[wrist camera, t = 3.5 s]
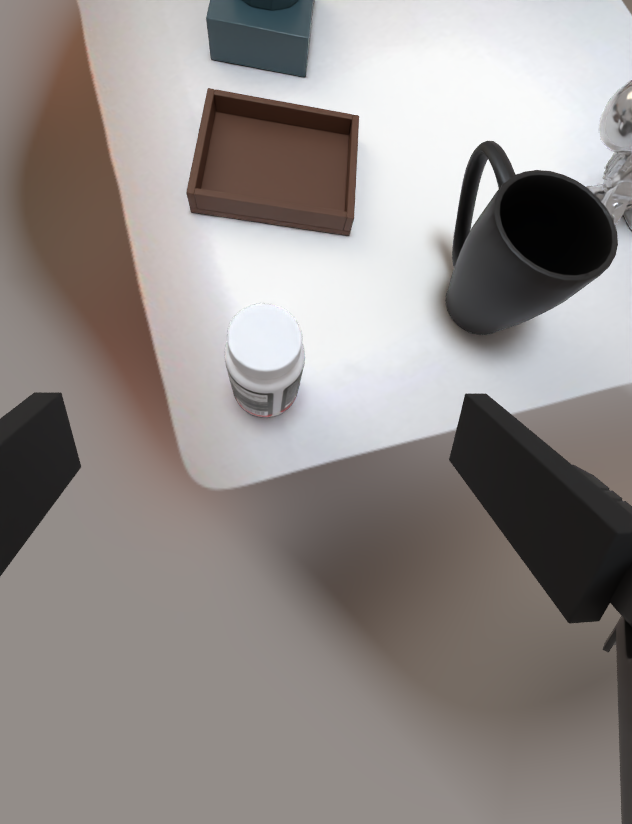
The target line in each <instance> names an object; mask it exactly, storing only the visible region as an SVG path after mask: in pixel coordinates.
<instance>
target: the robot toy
mask: <svg viewBox="0 0 632 824" xmlns="http://www.w3.org/2000/svg"><path fill="white" fill-rule="evenodd" d="M599 134H600V138H601V141H602V143H603V144H604V145H605V146H606V147H607V148H608V149H609V150H611V151H614V152H615V153H614V154H613V156H612V157H611V159H610V160H609V161H608V164H607V165H606V166H605V169H606V170H605V172H604V174H605V175H604V177H603V179H604V183H603V184H601V185H596V186H587V188H588V189H589V190H590V191H591V192H592V193H594V194H595V195H596V196H597V197H598V198H599V199H600V200H601V202H602V203H603V204H604V206H605V207H606V208H607V210H608V211H609V213H610V215H611V217H612V219H613V221H614V224H615V225H616V224H617V223H618V222H619V220H620V219H621V217H622V215H623V216H624V218H625V220H626V222H627V224H628V225H629V227H630V229H631V230H632V80H631V81H629V82H627V83H626V84H625V85H624V86H622V87H621V88H620V89H619V90H618V91H617V92H616V93H615V94H614V95H613V96H612V97H611V98H610V100H609V101H608V103H607V105H606V106H605V108H604V110H603V112H602V115H601V118H600V123H599ZM627 205H630V206H627Z"/></svg>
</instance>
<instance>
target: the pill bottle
mask: <svg viewBox="0 0 632 824" xmlns="http://www.w3.org/2000/svg"><path fill="white" fill-rule="evenodd" d="M304 361H305V352H304V346H303V343H302V332H301V328H300V326H299V324H298V322H297V320H296V319H295V318H294V317H293V316H292V315H291V314H290V313H289V312H288V311H286V310H285V309H283V308H281V307H279V306H276V305H273V304H265V303H262V304H254V305H251V306H248V307H246V308H244V309H242V310H241V311H239V312H238V313H237V314H236V315H235V316H234V318H233V319H232V320H231V322H230V324H229V327H228V331H227V343H226V347H225V362H226V367H227V371H228V374H229V378H230V382H231V386H232V389H233V393H234V396H235V398H236V400H237V402H238V404H239V405H240V406H241V407H242V408H243V409H244V410H245V411H247V412H248V413H250V414H252V415H255V416H259V417H272V416H276V415H279V414H281V413H283V412H284V411H286V410H287V409H288V408H289V407H290V406H291V405H292V404H293V402H294V400H295V398H296V396H297V392H298V388H299V384H300V380H301V376H302V371H303V367H304Z"/></svg>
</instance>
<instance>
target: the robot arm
mask: <svg viewBox="0 0 632 824" xmlns="http://www.w3.org/2000/svg"><path fill="white" fill-rule="evenodd" d="M449 460H450V462H451V463H452V464H453V466H454V467H455V469H456V470H457V471H458V473H459V474H460V475H461V477H462V478H463V480H464V481H465V482H466V484H467V485H468V486H469V488H470V489H471V490H472V492H473V493H474V494H475V496H476V497H477V499H478V500H479V501H480V502H481V504H482V505H483V507H484V508H485V510H486V511H487V512H488V513H489V515H490V516H491V517H492V519H493V520H494V522H495V523H496V525H497V526H498V527H499V529H500V530H501V531H502V533H503V534H504V536H505V537H506V538H507V540H508V541H509V542H510V544H511V545H512V546H513V548H514V549H515V551H516V552H517V553H518V555H519V556H520V557H521V559H522V560H523V561H524V563H525V564H526V565H527V567H528V568H529V570H530V571H531V572H532V574H533V575H534V576H535V578H536V579H537V581H538V582H539V583H540V585H541V586H542V587H543V589H544V590H545V591H546V593H547V594H548V595H549V597H550V598H551V600H552V601H553V602H554V604H555V605H556V606H557V608H558V609H559V611H560V612H561V613H562V615H563V616H564V617H565V619H566V620H567V622H568V623H580V622H594V621H599V620H600V619H601V617H602V615H603V614H604V612H605V610H606V608H607V607H608V605H609V603H611V604H612V605H613V606H614V607H615V609H616V610H617V611H618V612H619V613H620V614H621V615H622V616H621V618H620V619H619V621H618V623H617V624H616V626H615V628H614V629H613V631H612V632H611V634H610V636H609V637H608V639H607V640H606V642H605V644H604V647H603V650H605V651H607V652H609V651H610V649H611V648H612V646H613V645H616V647H617V679H618V680H617V681H618V713H619V746H620V781H621V814H622V824H632V506H631V505H629V504H628V503H627V502H626V501H622V498H621V497H620V496H618V495H617V494H616V493H615V492H613V491H610V490H609V488H608V487H607V486H606V485H605V484H603V483H602V482H601V481H600V480H599V479H597V478H596V477H595V476H594V475H592V474H590V473H588V472H586V471H584V470H582V469H580V468H578V467H577V466H575V465H571V464H570V463H569V462H568V461H567V460H565V459H564V458H563V457H562V456H561V455H559V454H558V453H557V452H556V451H555V450H553V449H552V448H551V447H550V446H548V445H547V444H546V443H545V442H544V441H543V440H541V439H540V438H539V437H537V435H535V434H534V433H533V432H532V431H531V430H529V429H528V428H527V427H526V426H524V425H523V424H522V423H521V422H520V421H518V420H517V419H516V418H515V417H514V416H512V415H511V414H510V413H509V412H508V411H506V410H505V409H504V408H503V407H502V406H500V405H499V404H498V403H497V402H496V401H494V400H493V399H492V398H491V397H489V396H488V395H487V394H465V398H464V402H463V406H462V410H461V414H460V418H459V422H458V426H457V430H456V434H455V438H454V443H453V446H452V450H451V454H450V458H449ZM80 468H81V464H80V461H79V457H78V453H77V449H76V446H75V442H74V438H73V435H72V431H71V427H70V423H69V420H68V416H67V412H66V409H65V405H64V401H63V397H62V393H33V394H32V395H31V396H29V397H28V398H27V399H25V400H24V401H23V402H22V403H20V404H19V405H18V406H16V407H15V408H14V409H13V410H11V411H10V412H9V413H7V414H6V415H5V416H3V417H2V418H1V419H0V576H1V575H2V573H3V572H4V571H5V569H6V568H7V567H8V565H9V564H10V562H11V561H12V560H13V558H14V557H15V556H16V554H17V553H18V551H19V550H20V549H21V548H22V546H23V545H24V544H25V542H26V541H27V539H28V538H29V537H30V535H31V534H32V533H33V531H34V530H35V529H36V527H37V526H38V525H39V523H40V522H41V521H42V519H43V518H44V516H45V515H46V513H47V512H48V511H49V510H50V508H51V507H52V506H53V504H54V503H55V502H56V500H57V499H58V498H59V496H60V495H61V493H62V492H63V491H64V489H65V488H66V487H67V485H68V484H69V483H70V481H71V480H72V478H73V477H74V476H75V474H76V473H77V472H78V471H79V469H80Z"/></svg>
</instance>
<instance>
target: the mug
mask: <svg viewBox="0 0 632 824" xmlns="http://www.w3.org/2000/svg"><path fill="white" fill-rule="evenodd" d="M488 159H489V161H490V163H491V165H492V167H493V170H494V173H495V176H496V179H497V183H498V187H499V190H498V191H497V192H496V194H495V195H494V197H493V198H492V200H491V201H490V202H489V204H488V205H487V207H486V208H485V210H484V211H483V212H482V214H481V215H480V217H479V218H478V220H477V221H476V223H475V224H474V226H473V227H472V229H471V223H472V217H473V211H474V206H475V201H476V196H477V191H478V187H479V183H480V179H481V175H482V172H483V169H484V166H485V164H486V162H487V160H488ZM470 229H471V231H470ZM617 246H618V240H617V231H616V227H615V224H614V221H613V219H612V217H611V215H610V213H609V211H608V210H607V208H606V207H605V206H604V204H603V203H602V202H601V200H600V199H599V198H598V197H597V196H596V195H595V194H594V193H592V192H591V191H590V190H589V189H588V188H587V187H585V186H584V185H582V184H581V183H579V182H577V181H576V180H574V179H571V178H569V177H567V176H565V175H562V174H558V173H555V172H551V171H541V170H535V171H527V172H523V173H520V174H517V175H515V172H514V170H513V168H512V165H511V163H510V161H509V159H508V157H507V155H506V153H505V152H504V150H503V149H502V148H501V146H500V145H498V144H497V143H495V142H494V141H486V142H483V143H481V144H480V145H479V146H478V147H477V148H476V149H475V150H474V152H473V154H472V155H471V157H470V160H469V162H468V165H467V167H466V171H465V175H464V179H463V184H462V189H461V195H460V201H459V207H458V213H457V219H456V226H455V232H454V240H453V251H452V259H453V266H454V270H453V274H452V277H451V281H450V285H449V288H448V291H447V293H446V306H447V310H448V312H449V314H450V316H451V318H452V319H453V320H454V322H455V323H456V324H457V325H458V326H460V327H461V328H463V329H464V330H466V331H468V332H470V333H474V334H479V335H487V334H492V333H494V332H496V331H499V330H502V329H505V328H509V327H512V326H515V325H518V324H520V323H523V322H525V321H528V320H530V319H532V318H534V317H536V316H538V315H540V314H542V313H544V312H546V311H548V310H550V309H552V308H554V307H556V306H557V305H559V304H561V303H563V302H564V301H566V300H567V299H568V298H570V297H571V296H573V295H574V294H575V293H577V292H578V291H579V290H581V289H582V288H584V287H585V286H586V285H588V284H589V283H590V282H592V281H593V280H594V279H596V278H597V277H598V276H600V275H601V274H602V273H603V272H604V271H605V270H606V269H607V268H608V267H609V266H610V264H611V263H612V261H613V259H614V257H615V255H616V250H617Z"/></svg>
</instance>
